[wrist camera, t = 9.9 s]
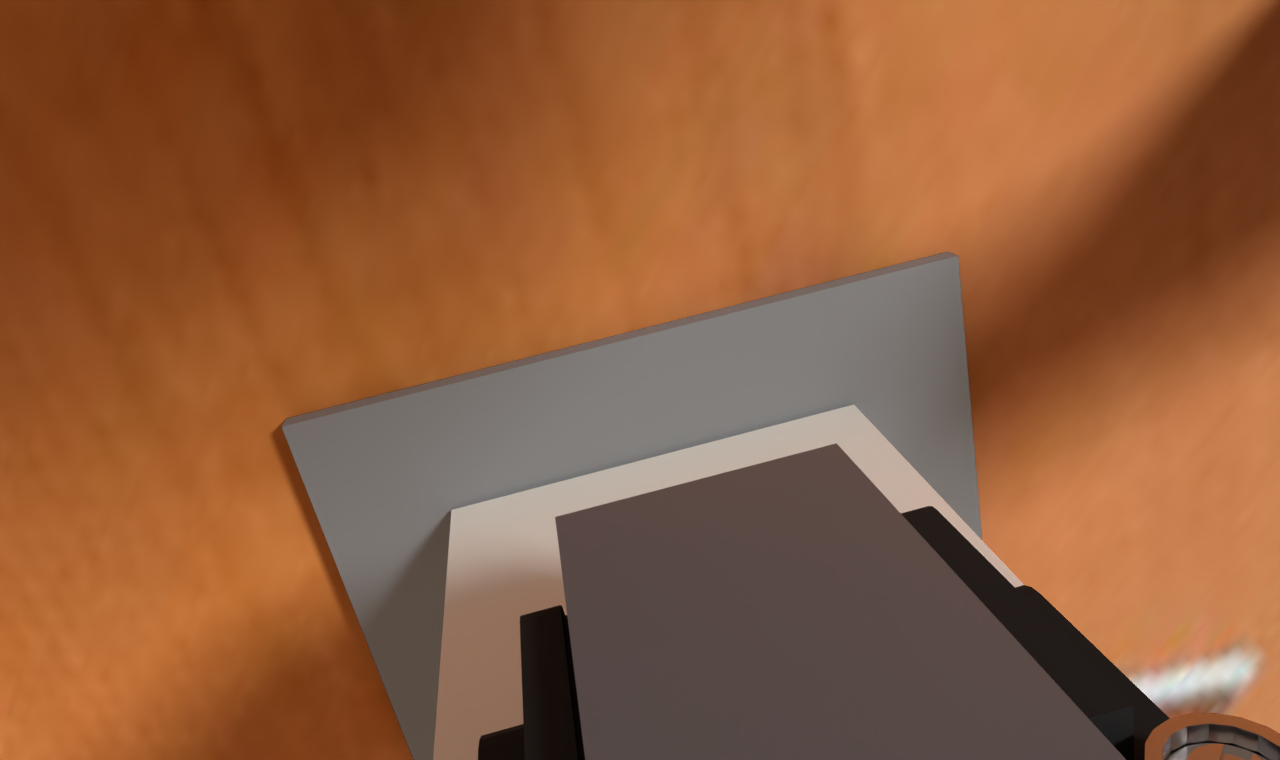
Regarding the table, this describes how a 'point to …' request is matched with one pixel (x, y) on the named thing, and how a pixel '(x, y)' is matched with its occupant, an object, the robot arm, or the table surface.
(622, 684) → the block
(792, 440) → the tile
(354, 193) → the table surface
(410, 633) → the mat
